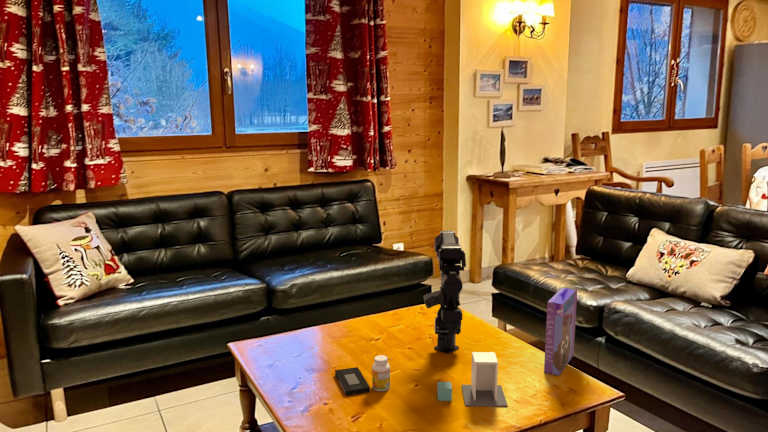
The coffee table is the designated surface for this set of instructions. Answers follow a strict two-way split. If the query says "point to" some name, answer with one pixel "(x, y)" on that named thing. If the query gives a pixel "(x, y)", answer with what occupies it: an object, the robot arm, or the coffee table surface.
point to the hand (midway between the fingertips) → (449, 331)
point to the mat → (484, 397)
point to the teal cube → (444, 391)
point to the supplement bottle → (381, 373)
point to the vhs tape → (352, 381)
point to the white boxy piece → (484, 372)
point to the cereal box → (560, 330)
